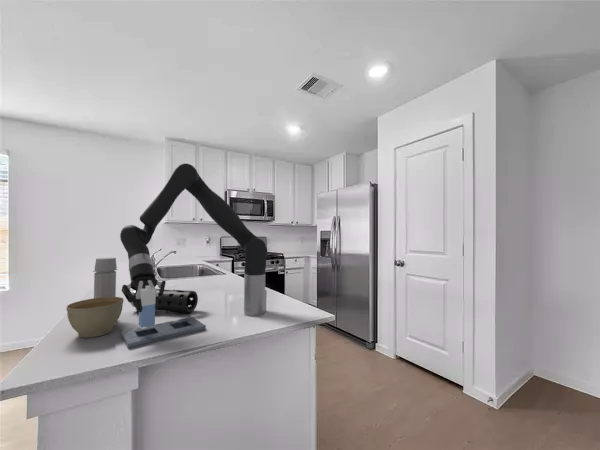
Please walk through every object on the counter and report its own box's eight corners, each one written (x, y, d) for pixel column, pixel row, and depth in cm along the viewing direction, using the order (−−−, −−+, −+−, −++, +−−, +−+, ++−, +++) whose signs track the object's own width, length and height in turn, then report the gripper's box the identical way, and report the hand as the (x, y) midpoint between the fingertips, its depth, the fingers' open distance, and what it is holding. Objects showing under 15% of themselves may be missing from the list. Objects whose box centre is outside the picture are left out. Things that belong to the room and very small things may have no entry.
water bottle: (118, 321, 107) (119, 258, 108) (94, 326, 101) (95, 259, 102) (112, 316, 113) (113, 256, 114) (89, 320, 108) (90, 258, 108)
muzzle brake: (185, 317, 112) (185, 293, 112) (128, 313, 118) (128, 289, 118) (198, 311, 122) (198, 288, 122) (144, 307, 127) (145, 285, 127)
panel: (192, 321, 107) (192, 316, 107) (205, 331, 97) (205, 325, 97) (120, 337, 91) (120, 331, 91) (127, 350, 81) (128, 343, 81)
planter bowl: (116, 322, 106) (117, 294, 107) (128, 333, 95) (128, 302, 95) (62, 333, 95) (63, 302, 95) (68, 347, 84) (69, 312, 84)
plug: (151, 321, 94) (152, 284, 94) (154, 324, 91) (155, 286, 91) (138, 324, 91) (139, 285, 91) (141, 327, 88) (142, 287, 88)
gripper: (119, 263, 92) (125, 307, 83) (164, 261, 101) (174, 299, 92) (116, 277, 96) (121, 320, 86) (160, 273, 105) (169, 311, 96)
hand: (148, 309), depth 89 cm, fingers closed on plug, 4 cm apart
